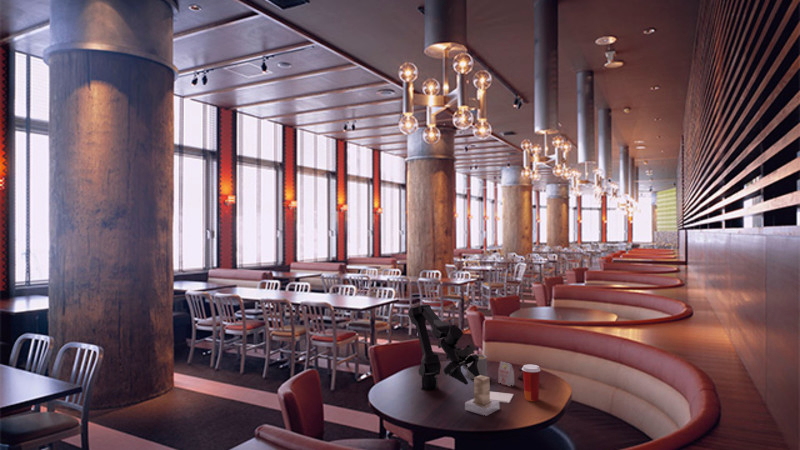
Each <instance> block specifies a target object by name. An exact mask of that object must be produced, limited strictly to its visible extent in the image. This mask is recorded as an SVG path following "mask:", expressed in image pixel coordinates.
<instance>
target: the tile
mask: <svg viewBox="0 0 800 450" xmlns="http://www.w3.org/2000/svg"><path fill="white" fill-rule="evenodd" d="M513 398H514V393H507V392H498V391H490V399H492V400H495V401H499V403H505V404H506V403H507V404H510V403H511V401H512V399H513Z"/></svg>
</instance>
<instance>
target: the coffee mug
mask: <svg viewBox="0 0 800 450" xmlns="http://www.w3.org/2000/svg"><path fill="white" fill-rule="evenodd" d="M476 354H477V356H478V357H479V359H478V362H477V367H478V371H479V374H480V375H482V376H486V377H488V370H487V369H488V367H487V366H488V364H487V361H488V360H487V359H488V358H487V355H484V354H478V353H476ZM471 355H473V354H471ZM469 356H470V355H468V357H469ZM468 357H467V358H468ZM467 358H466V359H467ZM462 368H463V369H464V370H465V371H466V378H467V379H469V380H472V379H474V378H475V376H474V375H473V374H472V373H471V372H470V371H469V370H467V367H465V365H464V366H462Z"/></svg>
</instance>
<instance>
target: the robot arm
mask: <svg viewBox="0 0 800 450" xmlns="http://www.w3.org/2000/svg"><path fill="white" fill-rule="evenodd" d="M407 314H408V317H409V318H410V322H411V323H412V324H413V325H414V326H415V329H416V333H417V336H418V342H419V344H420V345H419V346H420V349H421V352H422V353H421V354H422V357H421V359H420V366H419V368H418V374H419V376H421V387H420V389H421V390H425V391H436V389H437V388H438V387H439V378H438V376H437V375H440V373H441V369H442V364H441V361H440V358H439V355H438V354H437V353H434V351H433V347H432V343H431V340H430V336H429V332H428V328H427V325H426V324H427V323H426V321H427V322H428V324H429V326H430V327H431V329H432V330H431V332H432V335H433V336H434V338H435V339H436V340H437V339H441V340H440V341H438V342H437V343H438V345H437V347H438V349H442V350H443V352H444V353H445V355H446V357H445V358H446V360H450V362H448V364H446V366H445V367H444V368H443V374H445V376H448V377H452V378H453V379H455V380H456V381H457V380H458V382H461V383H463V384H464V385H468V384H469V382H468V380H467V379H466V378H467V377H465V375H464V373H463V372H462V368H461V367H463V366H464V365H465V367H467V370H469V371H470V372H471V373H472V374H473V375H474V376H475V377H477V376H479V375H480V374H479V371H478V367H477V362H478V359H479V357H478V356H477V354H478V353H475V351H476V347H475V346H473V344H467V345H466V347H465V348H462V347H458V346H457V344H458V343H459V342H460V340H461V339H462V337H463V334H464V333H463V330H462V329H461V328H460V327H458V326H457V325H456V324H448V323H447V322H446V321H444V320H441V319H440V318H439V316H438V315H437V314H436V312H435V311H434V309H432V307H431V305H430V304H429V303H425V304H420V305H417V306H411V307H410V308H409V309H408V311H407ZM471 354H473V355H471ZM468 355H470V356H469V357H468ZM467 357H468V358H467ZM466 358H467V359H466ZM467 370H466V371H467Z"/></svg>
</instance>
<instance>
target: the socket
mask: <svg viewBox="0 0 800 450" xmlns="http://www.w3.org/2000/svg"><path fill="white" fill-rule="evenodd" d="M464 410H465V411H467V412H471V413H475V414H478V415H481V416H484V415H485V416H484V417H487V416H489V415H491V414H493V413H494V412H496V411H498V410H500V402H499V401H495V400H492V399H490V403H489V404H487V405H485V406H483V405H480V404H476V403H474V398H471V399H469V400H467V401H465V402H464Z"/></svg>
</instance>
